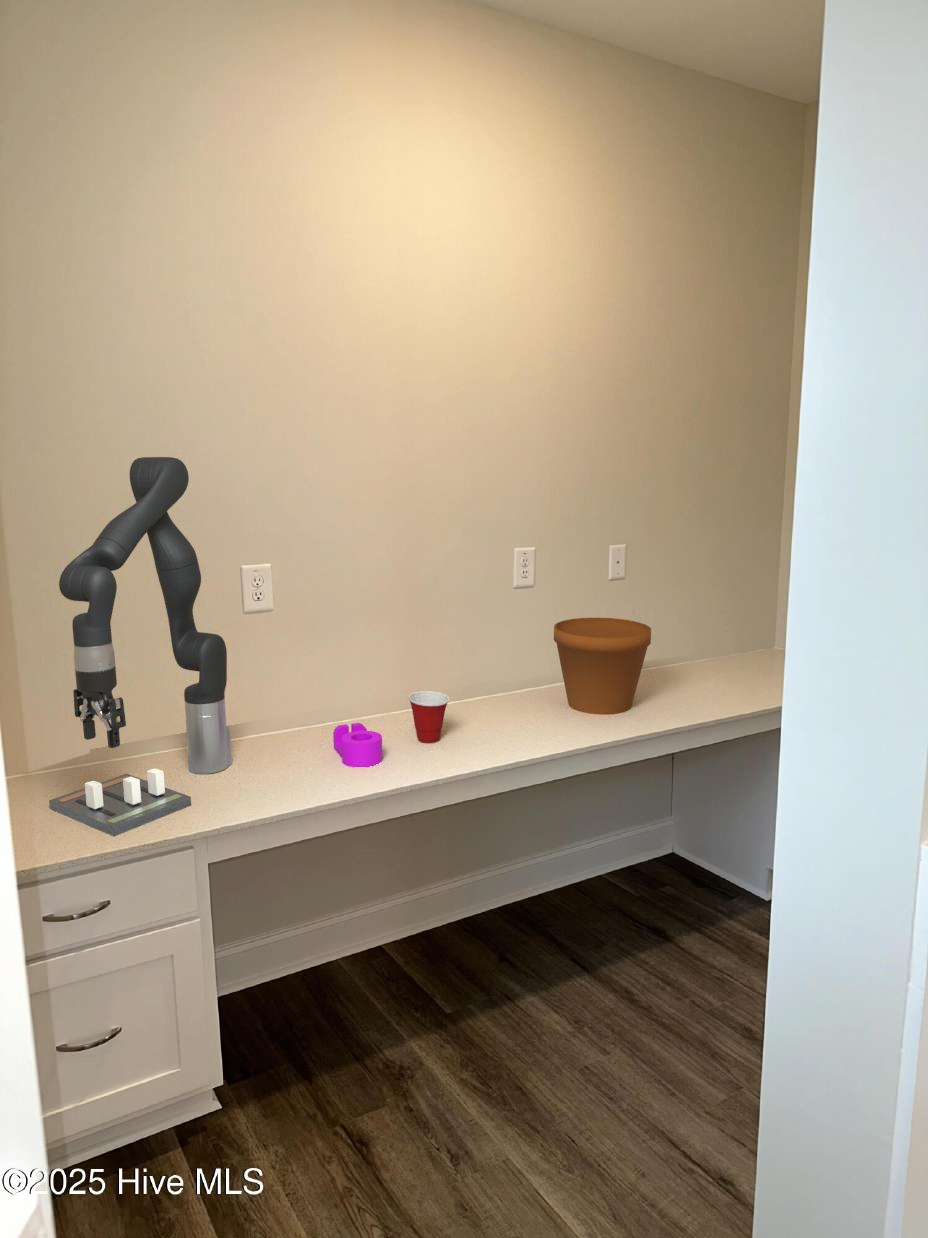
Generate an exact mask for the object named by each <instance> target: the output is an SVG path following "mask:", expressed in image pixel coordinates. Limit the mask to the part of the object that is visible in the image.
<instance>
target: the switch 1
mask: <svg viewBox="0 0 928 1238" xmlns="http://www.w3.org/2000/svg"><path fill="white" fill-rule="evenodd" d="M84 788H85V793H86V804H87V806H88V807H91V808H93V809H97V808H100V807H102V806H104V805H103V793H102V784H101V782H99V781H96V780H91V781H87V782H85V783H84Z"/></svg>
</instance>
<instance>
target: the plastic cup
mask: <svg viewBox="0 0 928 1238" xmlns="http://www.w3.org/2000/svg"><path fill="white" fill-rule="evenodd" d="M408 701H409V702H410V706H411V707H410V708H411V710H412V711H411V712H412V716H413V717H412V718H413V722H414V724H413V725H414V728H415V733H416V738H417V740H418V741H419V743H424V744H434V743H437V742H439V741H440V738H441V734H442V728H443V724H444V719H445V713H446V708H447V705H448V703H449V702H450V696H449V695H448V694H446V693H444V692H439V691H437V690H436V691H435V690H418V691H413V692H411V693H410V694H409V695H408Z"/></svg>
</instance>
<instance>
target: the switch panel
mask: <svg viewBox="0 0 928 1238" xmlns="http://www.w3.org/2000/svg"><path fill="white" fill-rule="evenodd" d="M128 777H134V778H136V779H139V780H140V792H141V802H139V803H137V804H134V805H132V804H130V803H127V802H125V801H124V789H123V779H125V778H128ZM100 783H101V784H102V793H103V805H104V806H102V807H100V808H97V809H93V808H91V807H88V806H87V804H86V793H85V787H83V788H82V789H78V790H74V791H72V792H69V793H67V794H63V795H61V796H58V797H55V798H52V799H49V800H48V802H49V809H50V810H51V809H52V810H51V811H54V810H55V811H54V812H56V811H57V813H59V814H60V815H63V814H64V815H63V816H65V815H66V817H68V818H70V819H73V820H75V821H77V822H80V823H81V824H84V825H87V826H89V827H91V828H94V829H95V830H99V831H101V832H102V833H105V834H108V835H109V836H111V837H116V836H118V835H121V834H124V833H126V832H128V831H131V830H133V829H135V828H138V827H142V826H144V825H146V824H148V823H150V822H153V821H156V820H157V819H161V818H163V817H166V816H168V815H170V814H173V813H175V812H177V811H180V810H183V809H185V808H187V807H190V806H192V798H191V796H190V795H187V794H184V793H181V792H179V791H176V790H173V789H170V788H168V787H165V793H163V794H160V795H158V796H157V795H154V794H151V793H149V791H148V780H146V779H143V778H140V777H136V776H134V775H131V774H129V773H124V774H121V775H118V776H115V777H112V778H110V779H107V780H104V781H101V782H100Z"/></svg>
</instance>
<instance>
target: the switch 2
mask: <svg viewBox="0 0 928 1238" xmlns="http://www.w3.org/2000/svg"><path fill="white" fill-rule="evenodd" d="M146 773H147V774H146V776H147V781H148V791H149V793H151V794H154V795H157V796H158V795H160V794H163V793H165V788H166V787H165V776H164V775H165V774H164V770H161V769H158V768H152V769H149V770H147V771H146Z"/></svg>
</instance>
